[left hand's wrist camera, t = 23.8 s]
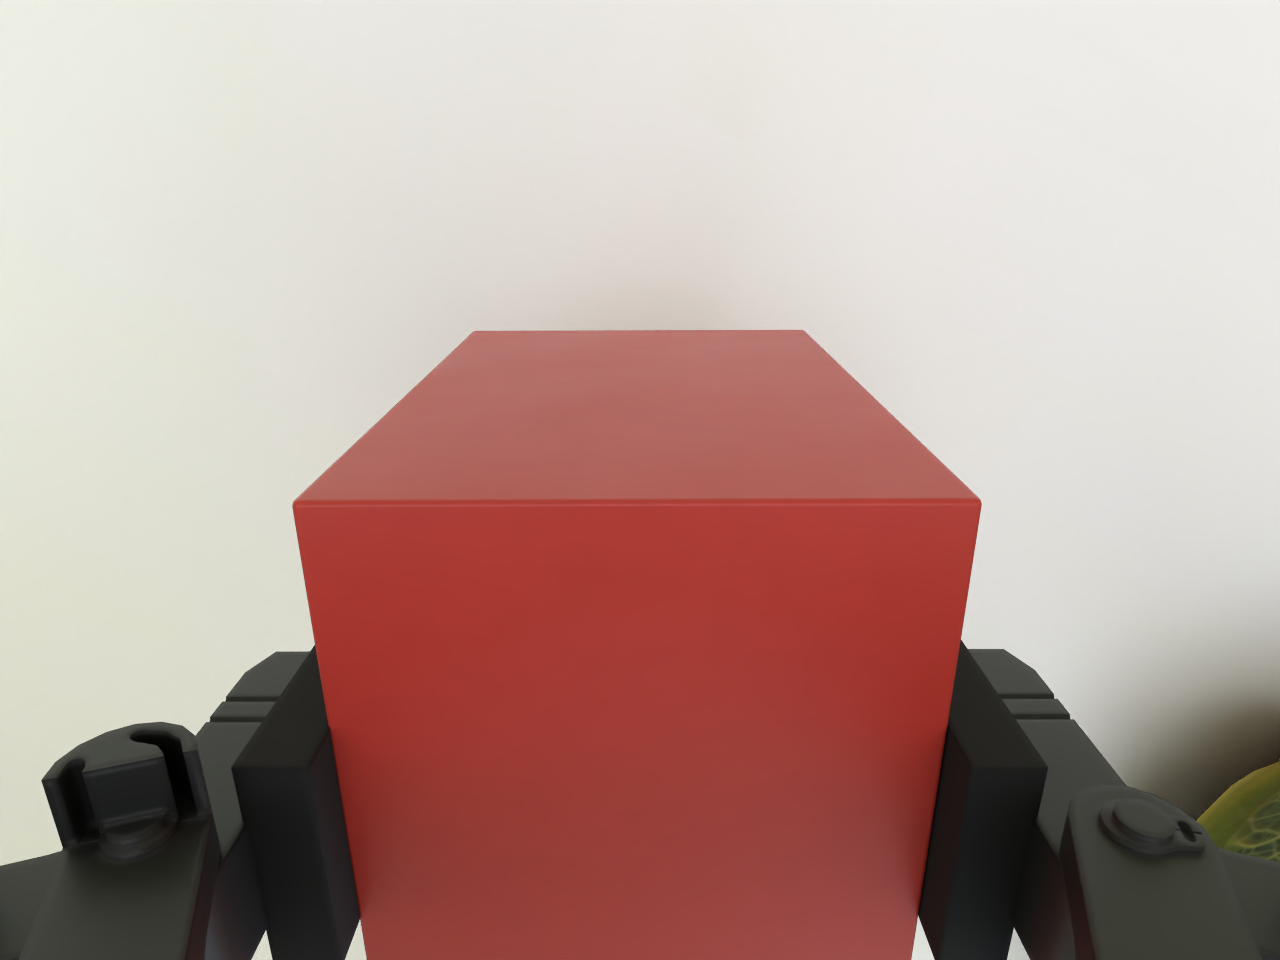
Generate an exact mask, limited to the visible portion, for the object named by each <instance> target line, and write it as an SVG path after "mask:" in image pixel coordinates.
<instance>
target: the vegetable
mask: <svg viewBox="0 0 1280 960" xmlns="http://www.w3.org/2000/svg"><path fill="white" fill-rule="evenodd" d="M1197 822H1198V823H1199V824H1200V825H1202V826H1203V827H1204V828H1205V830H1206V831H1207V833H1208V834H1209V836H1210V837H1211V839H1212V840H1213V842H1214V843H1215V845H1216V846H1217V847H1218V848H1222V849H1225V850H1229V851H1232V852H1236V853H1240V854H1245V855H1249V856H1253V857H1258V858H1262V859H1267V860H1271V861H1275V862H1280V758H1279V762H1277V763H1274V764H1271V765H1269V766H1266V767H1263V768H1261V769H1258V770H1255V771H1253V772H1251V773H1250V774H1248V775H1247V776H1245V777H1244V778H1242V779H1241V780H1239V781H1238V782H1236V783H1234V784H1233V785H1231V786H1230V787H1229V788H1228V789H1227V790H1226V791H1225V792H1224V793H1223V794H1222V795H1221V796H1220V797H1219V798H1218V799H1217V800H1216V801H1215V802H1214V803H1213V804H1212V805H1211V806H1210V807H1209V808H1208V809H1207V810H1206V811H1205V812H1204V813H1203V814H1202V815H1201V816H1200V817H1199V818H1198V819H1197Z"/></svg>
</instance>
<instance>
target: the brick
mask: <svg viewBox="0 0 1280 960" xmlns="http://www.w3.org/2000/svg"><path fill="white" fill-rule="evenodd" d="M980 511H981V500H980V499H979V498H978V497H977V496H976V495H975V494H974V493H973V492H972V491H971V490H970V489H969V488H968V487H967V486H966V485H965V484H964V483H963V482H962V481H961V480H959V479H958V478H957V477H956V476H955V475H954V474H953V473H952V472H951V471H950V470H949V469H948V468H947V467H946V466H945V465H944V464H943V463H942V462H941V461H940V460H939V459H938V458H936V457H935V456H934V455H933V454H932V453H931V452H930V451H929V450H928V449H927V448H926V447H925V446H924V445H923V444H922V443H921V442H920V441H919V440H918V439H917V438H916V437H915V436H913V435H912V434H911V433H910V432H909V431H908V430H907V429H906V428H905V427H904V426H903V425H902V424H901V423H900V422H899V421H898V420H897V419H896V418H895V417H894V416H893V415H892V414H890V413H889V412H888V411H887V410H886V409H885V408H884V407H883V406H882V405H881V404H880V403H879V402H878V401H877V400H876V399H875V398H874V397H873V396H872V395H871V394H870V393H869V392H867V391H866V390H865V389H864V388H863V387H862V386H861V385H860V384H859V383H858V382H857V381H856V380H855V379H854V378H853V377H852V376H851V375H850V374H849V373H848V372H847V371H846V370H844V369H843V368H842V367H841V366H840V365H839V364H838V363H837V362H836V361H835V360H834V359H833V358H832V357H831V356H830V355H829V354H828V353H827V352H826V351H825V350H824V349H823V348H821V347H820V346H819V345H818V344H817V343H816V342H815V341H814V340H813V339H812V338H811V337H810V336H809V335H808V334H807V333H806V332H805V331H803V330H651V331H474V332H473V333H472V334H471V335H469V336H468V337H467V338H466V339H465V340H464V341H463V342H462V343H461V344H460V345H459V346H458V347H457V348H456V349H455V350H454V351H452V352H451V353H450V354H449V355H448V356H447V357H446V358H445V359H444V360H443V361H442V362H441V363H440V364H439V365H438V366H437V367H436V368H434V369H433V370H432V371H431V372H430V373H429V374H428V375H427V376H426V377H425V378H424V379H423V380H422V381H421V382H420V383H419V384H418V385H416V386H415V387H414V388H413V389H412V390H411V391H410V392H409V393H408V394H407V395H406V396H405V397H404V398H403V399H402V400H401V401H399V402H398V403H397V404H396V405H395V406H394V407H393V408H392V409H391V410H390V411H389V412H388V413H387V414H386V415H385V416H384V417H383V418H381V419H380V420H379V421H378V422H377V423H376V424H375V425H374V426H373V427H372V428H371V429H370V430H369V431H368V432H367V433H366V434H365V435H363V436H362V437H361V438H360V439H359V440H358V441H357V442H356V443H355V444H354V445H353V446H352V447H351V448H350V449H349V450H348V451H346V452H345V453H344V454H343V455H342V456H341V457H340V458H339V459H338V460H337V461H336V462H335V463H334V464H333V465H332V466H331V467H330V468H328V469H327V470H326V471H325V472H324V473H323V474H322V475H321V476H320V477H319V478H318V479H317V480H316V481H315V482H314V483H313V484H312V485H310V486H309V487H308V488H307V489H306V490H305V491H304V492H303V493H302V494H301V495H300V496H299V497H298V498H297V499H296V500H295V501H294V502H293V513H294V519H295V525H296V531H297V537H298V543H299V549H300V555H301V561H302V568H303V574H304V580H305V586H306V592H307V598H308V604H309V610H310V616H311V622H312V628H313V634H314V641H315V647H316V653H317V659H318V665H319V671H320V677H321V683H322V689H323V695H324V701H325V707H326V714H327V720H328V726H329V727H330V732H331V739H332V745H333V751H334V757H335V764H336V770H337V776H338V782H339V788H340V795H341V801H342V807H343V813H344V819H345V826H346V832H347V838H348V844H349V851H350V857H351V863H352V869H353V875H354V882H355V888H356V894H357V900H358V906H359V913H360V920H361V926H362V932H363V938H364V945H365V951H366V957H367V960H911V957H912V951H913V944H914V938H915V931H916V925H917V918H918V912H919V906H920V899H921V893H922V886H923V880H924V873H925V867H926V860H927V854H928V847H929V841H930V834H931V828H932V821H933V815H934V809H935V802H936V796H937V789H938V783H939V776H940V770H941V763H942V757H943V750H944V744H945V737H946V731H947V725H948V718H949V712H950V705H951V699H952V692H953V686H954V679H955V673H956V666H957V660H958V653H959V647H960V641H961V634H962V628H963V621H964V615H965V608H966V602H967V595H968V589H969V582H970V576H971V569H972V563H973V557H974V550H975V544H976V537H977V531H978V524H979V518H980Z"/></svg>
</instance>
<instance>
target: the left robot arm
mask: <svg viewBox="0 0 1280 960" xmlns="http://www.w3.org/2000/svg"><path fill="white" fill-rule="evenodd" d="M41 781H42V784H43V787H44V790H45V793H46V796H47V799H48V803H49V806H50V809H51V812H52V815H53V818H54V821H55V824H56V827H57V831H58V834H59V837H60V840H61V843H62V846H63V849H62V851H60V852H56V853H53V854H50V855H46V856H42V857H37V858H33V859H29V860H24V861H20V862H15V863H11V864H7V865H2V866H0V960H251V959H252V957H253V955H254V953H255V951H256V949H257V947H258V945H259V943H260V941H261V939H262V937H263V935H264V933H265V931H267V936H268V940H269V945H270V949H271V954H272V959H273V960H345V957H346V955H347V952H348V949H349V947H350V944H351V941H352V939H353V936H354V933H355V931H356V928H357V925H358V923H359V920H360V913H359V906H358V900H357V894H356V888H355V882H354V875H353V869H352V863H351V857H350V851H349V844H348V838H347V832H346V826H345V819H344V813H343V807H342V801H341V795H340V788H339V782H338V776H337V770H336V764H335V757H334V751H333V745H332V739H331V732H330V727H329V726H328V720H327V714H326V707H325V701H324V695H323V689H322V683H321V677H320V671H319V665H318V659H317V653H316V647H315V645H314V647H313V648H312V650H311V651H310V652H275V653H274V654H272V655H271V656H269V657H268V658H266V659H265V660H263V661H262V662H260V663H259V664H257V665H256V666H254V667H253V668H251V669H250V670H248V671H247V672H245V674H244V675H243V676H242V677H241V679H240V680H239V681H238V683H237V684H236V685H235V686H234V688H233V689H232V690H231V691H230V693H229V694H228V695H227V696H226V702H222V703H221V704H220V705H219V707H218V708H217V709H216V710H215V712H214V713H213V714H212V716H211V717H210V722H206V723H205V724H204V726H203V727H202V728H201V730H200V731H199V732H198V733H197V735H196V736H195V735H194V734H192V733H191V732H190V731H188V730H187V729H186V728H185V727H183V726H181V725H176V724H170V723H165V722H154V723H142V724H134V725H130V726H127V727H123V728H120V729H116V730H112V731H109V732H106V733H104V734H101V735H99V736H97V737H95V738H93V739H91V740H89V741H87V742H84V743H82V744H80V745H78V746H77V747H76V748H74V749H73V750H71V751H70V752H69V753H67V754H66V755H65V756H63V757H62V758H60V759H59V760H58V761H56V762H55V763H54V765H53V766H52V767H51V769H50V770H49V771H48V772H47V774H46V775H45V776H44V778H43V779H42V780H41ZM918 916H919V919H920V921H921V924H922V927H923V929H924V932H925V935H926V937H927V940H928V943H929V945H930V948H931V951H932V953H933V956H934V959H935V960H1007V956H1008V951H1009V947H1010V942H1011V937H1012V933H1013V928H1015V930H1016V932H1017V934H1018V936H1019V938H1020V940H1021V942H1022V944H1023V946H1024V948H1025V950H1026V952H1027V954H1028V956H1029V958H1030V960H1280V862H1275V861H1271V860H1267V859H1262V858H1258V857H1253V856H1249V855H1245V854H1240V853H1236V852H1232V851H1229V850H1225V849H1222V848H1218V847H1217V846H1216V845H1215V843H1214V842H1213V840H1212V839H1211V837H1210V836H1209V834H1208V833H1207V831H1206V830H1205V828H1204V827H1203V826H1202V825H1200V824H1199V823H1198V822H1197V821H1196V820H1194V819H1193V818H1192V817H1191V816H1190V815H1188V814H1187V813H1186V812H1185V811H1183V810H1182V809H1180V808H1178V807H1177V806H1175V805H1173V804H1171V803H1169V802H1167V801H1165V800H1163V799H1162V798H1160V797H1158V796H1156V795H1153V794H1150V793H1146V792H1143V791H1140V790H1137V789H1134V788H1130V787H1127V786H1126V785H1125V783H1124V782H1123V781H1122V780H1121V778H1120V777H1119V776H1118V775H1117V773H1116V772H1115V771H1114V770H1113V768H1112V767H1111V766H1110V764H1109V763H1108V762H1107V761H1106V759H1105V758H1104V757H1103V756H1102V754H1101V753H1100V752H1099V751H1098V749H1097V748H1096V747H1095V746H1094V744H1093V743H1092V742H1091V740H1090V739H1089V738H1088V737H1087V735H1086V734H1085V733H1084V732H1083V730H1082V729H1081V728H1080V727H1079V725H1078V724H1077V723H1076V722H1075V720H1071V719H1070V714H1069V713H1068V711H1067V710H1066V709H1065V708H1064V706H1063V705H1062V704H1061V703H1060V701H1059V700H1058V699H1054V694H1053V693H1052V691H1051V690H1050V689H1049V687H1048V686H1047V685H1046V684H1045V682H1044V681H1043V680H1042V679H1041V677H1040V676H1039V675H1038V674H1037V672H1036V671H1035V670H1034V669H1032V668H1031V667H1029V666H1028V665H1026V664H1025V663H1023V662H1022V661H1020V660H1019V659H1018V658H1016V657H1015V656H1013V655H1012V654H1010V653H1009V652H1007V651H1006V650H1004V649H967V648H966V646H965V645H964V643H963V642H962V640H961V641H960V647H959V653H958V660H957V666H956V673H955V679H954V686H953V692H952V699H951V705H950V712H949V718H948V725H947V731H946V737H945V744H944V750H943V757H942V763H941V770H940V776H939V783H938V789H937V796H936V802H935V809H934V815H933V821H932V828H931V834H930V841H929V847H928V854H927V860H926V867H925V873H924V880H923V886H922V893H921V899H920V906H919V912H918Z"/></svg>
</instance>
